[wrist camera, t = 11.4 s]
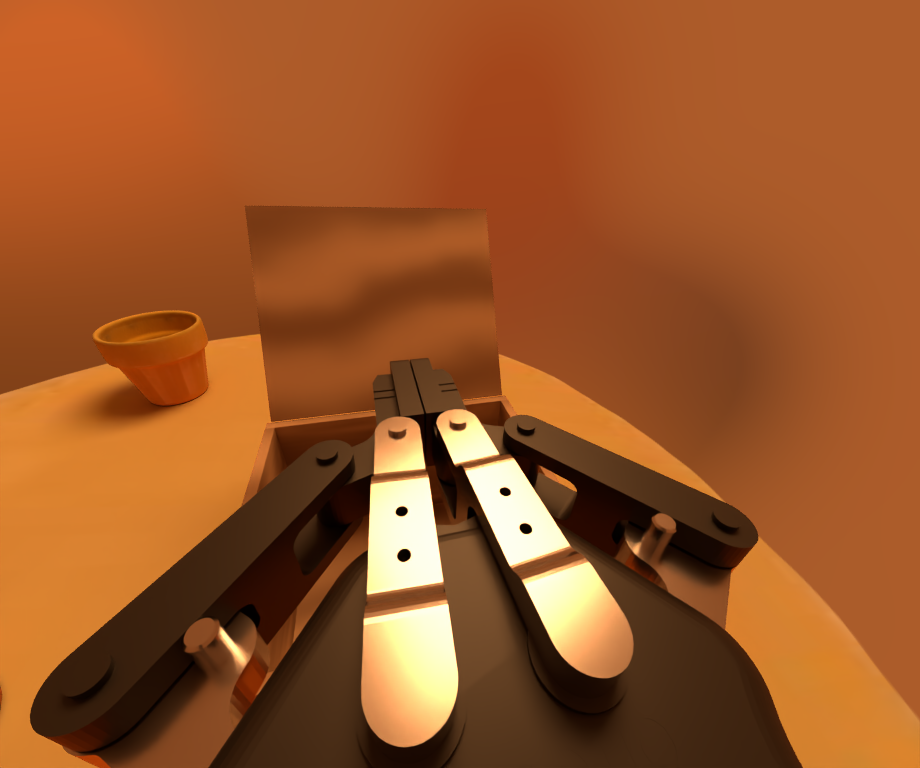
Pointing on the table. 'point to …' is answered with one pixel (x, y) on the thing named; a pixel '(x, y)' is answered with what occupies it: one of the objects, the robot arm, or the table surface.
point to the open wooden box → (300, 435)
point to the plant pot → (158, 354)
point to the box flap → (369, 301)
